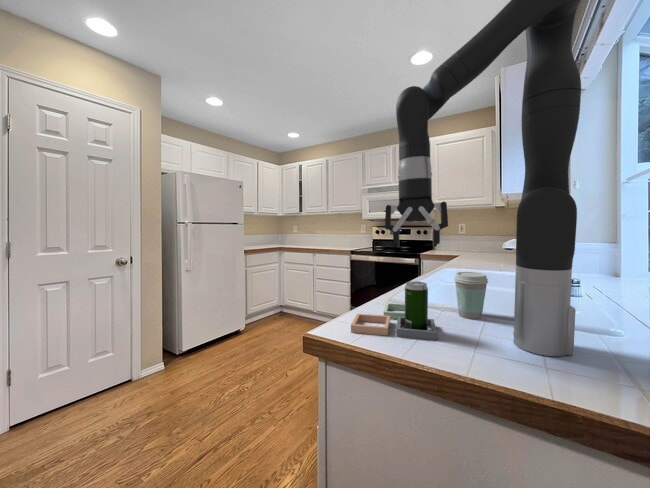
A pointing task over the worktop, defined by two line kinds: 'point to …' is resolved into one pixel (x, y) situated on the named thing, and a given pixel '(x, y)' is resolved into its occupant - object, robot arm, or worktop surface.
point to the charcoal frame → (415, 333)
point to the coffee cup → (470, 293)
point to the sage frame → (394, 307)
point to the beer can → (416, 305)
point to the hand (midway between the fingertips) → (415, 246)
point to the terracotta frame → (371, 329)
